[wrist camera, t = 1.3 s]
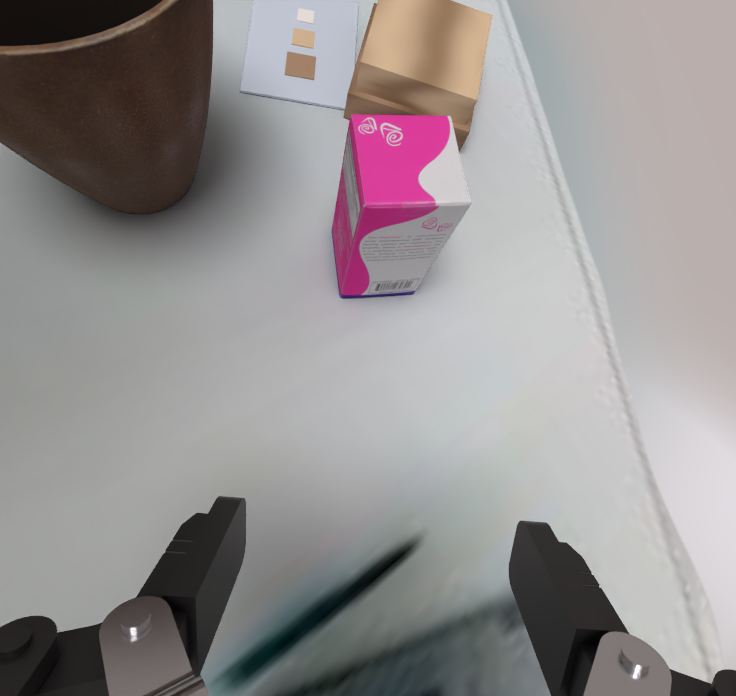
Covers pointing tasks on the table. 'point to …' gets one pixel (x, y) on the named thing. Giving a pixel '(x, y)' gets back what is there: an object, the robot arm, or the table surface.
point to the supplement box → (395, 202)
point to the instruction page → (301, 51)
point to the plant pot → (108, 94)
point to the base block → (421, 61)
